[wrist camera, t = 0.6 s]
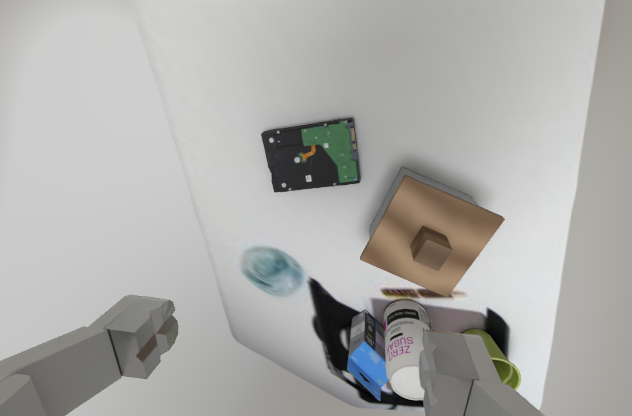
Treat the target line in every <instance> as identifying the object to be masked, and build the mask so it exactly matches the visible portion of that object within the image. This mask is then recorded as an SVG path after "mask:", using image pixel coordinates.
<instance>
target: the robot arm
mask: <svg viewBox="0 0 632 416" xmlns="http://www.w3.org/2000/svg"><path fill="white" fill-rule="evenodd" d="M174 311H175V308H174V304H173V302H172V301H170V300H166V299H160V298H153V297H146V296H137V295H127V296H124V297H123V298H122V299H121V300H120V301H119V302H117V303H116V304H115V305H114V306H113V307H111V308H110V309H109V310H108V311H107V312H105V313H104V314H103V315H102V316H101V317H99V318H98V319H97V320H96V321H95V322H93V323H92V324H91V325H90V326H89V327H81V328H79V329H77V330H74V331H72V332H69V333H67V334H64V335H62V336H60V337H57V338H55V339H52V340H50V341H48V342H45V343H43V344H41V345H38V346H35V347H33V348H30V349H28V350H26V351H23V352H21V353H18V354H16V355H14V356H11V357H9V358H6V359H4V360H2V361H0V416H65V415H67V414H68V413H70V412H71V411H72V410H74V409H75V408H77V407H78V406H80V405H81V404H83V403H84V402H86V401H87V400H89V399H90V398H92V397H93V396H95V395H96V394H98V393H99V392H101V391H102V390H104V389H105V388H106V387H108V386H110V385H111V384H113V383H114V382H115V381H117V380H118V379H120V378H121V376H126V377H134V378H142V379H147V378H148V377H149V375H150V374H151V373H152V372H153V370H154V369H155V368H156V367H157V365H158V364H159V363H160V355H162V354H163V353H165V352H167V351H169V350H170V348H171V347H172V346H173V344H174V343H175V340H176V337H177V335H178V322H177V320H176V319H175V318H174V317H173V316H172V314H173V313H174ZM422 342H423V347H424V349H423V350H422V351H421V352H420V357H419V379H420V385H421V387H422V388H423V390H424V391H425V393H424V399H423V403H424V408H425V414H426V416H544V415H543V414H542V413H541V412H540V411H539V410H537V409H536V408H535V407H534V406H533V405H532V404H530V403H529V402H528V401H527V400H526V399H525V398H523V397H522V396H521V395H520V394H519V393H518V392H516V391H515V390H514V389H513V388H512V387H511V386H509V385H506V384H503V383H502V381H501V379H500V377H499V375H498V373H497V370H496V368H495V366H494V364H493V362H492V359H491V357H490V355H489V353H488V351H487V348H486V346H485V344H484V342H483V340H482V338H481V337H480V336H479V335H472V334H462V333H461V334H458V333H449V332H440V331H431V330H425V331H424V333H423V338H422Z"/></svg>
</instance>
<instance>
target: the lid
mask: <svg viewBox="0 0 632 416" xmlns="http://www.w3.org/2000/svg"><path fill="white" fill-rule="evenodd" d="M504 220H505V219H504V218H503V217H502V216H500V215H498V214H496V213H493V212H491V211H489V210H486V209H484V208H482V207H479V206H477V205H475V204H473V203H470V202H468V201H466V200H463V199H461V198H459V197H456V196H454V195H452V194H449V193H447V192H445V191H442V190H440V189H438V188H435V187H433V186H431V185H428V184H426V183H424V182H421V181H419V180H417V179H414V178H412V177H410V176H408V175H404V176H403V178H402V180H401V182H400V184H399V186H398V188H397V189H396V191H395V193H394V195H393V197H392V199H391V201H390V202H389V204H388V206H387V208H386V210H385V212H384V214H383V215H382V217H381V219H380V221H379V223H378V225H377V226H376V228H375V230H374V232H373V234H372V236H371V238H370V239H369V241H368V243H367V245H366V247H365V249H364V251H363V252H362V254H361V256H360V260H362V261H364V262H367V263H369V264H371V265H373V266H376V267H378V268H380V269H383V270H385V271H387V272H390V273H392V274H394V275H397V276H399V277H401V278H404V279H406V280H408V281H410V282H413V283H415V284H417V285H420V286H422V287H424V288H427V289H429V290H431V291H434V292H436V293H438V294H440V295H443V296H445V297H448V296H449V294H450V293H451V292H452V290H453V289H454V288H455V286H456V285H457V284H458V282H459V281H460V280H461V278H462V277H463V275H464V274H465V273H466V271H467V270H468V269H469V267H470V266H471V265H472V263H473V262H474V261H475V259H476V258H477V256H478V255H479V254H480V252H481V251H482V250H483V248H484V247H485V246H486V244H487V243H488V242H489V240H490V239H491V237H492V236H493V235H494V233H495V232H496V231H497V229H498V228H499V227H500V225H501V224H502V223H503V221H504Z"/></svg>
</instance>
